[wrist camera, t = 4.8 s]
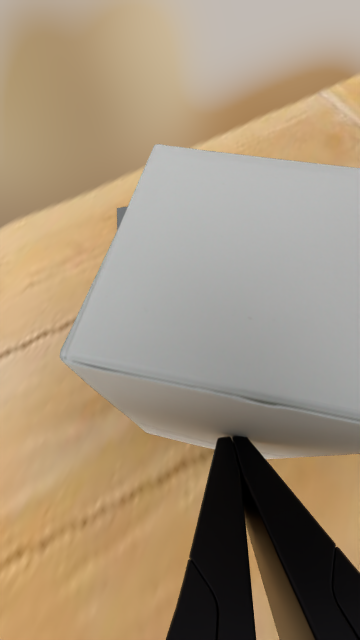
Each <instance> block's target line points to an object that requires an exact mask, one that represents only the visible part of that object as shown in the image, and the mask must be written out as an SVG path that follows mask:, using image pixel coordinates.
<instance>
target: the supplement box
mask: <svg viewBox="0 0 360 640" xmlns="http://www.w3.org/2000/svg"><path fill="white" fill-rule="evenodd" d="M60 359H61V360H62V361H63V362H64V363H65V364H66V365H67V366H68V367H69V368H71V369H72V370H73V371H74V372H75V373H76V374H77V375H78V376H79V377H81V378H82V379H83V380H84V381H85V382H86V383H87V384H88V385H90V386H91V387H92V388H93V389H94V390H96V391H97V392H98V393H99V394H100V395H101V396H103V397H104V398H105V399H106V400H108V401H109V402H110V403H111V404H112V405H114V406H115V407H116V408H117V409H119V410H120V411H121V412H122V413H124V414H125V415H126V416H127V417H129V418H130V419H131V420H132V421H133V422H135V423H136V424H137V425H138V426H139V427H140V428H141V429H143V430H144V431H145V432H146V433H149V434H153V435H157V436H161V437H165V438H169V439H173V440H177V441H181V442H185V443H189V444H193V445H197V446H201V447H206V448H210V449H215V446H216V442H217V439H218V438H219V437H226V436H230V437H231V439H232V437H233V436H243V437H248V439H249V440H250V441H251V442H252V444H253V445H254V446H255V447H256V448H257V450H258V451H259V452H260V453H261V454H262V456H263V457H264V458H265V459H279V458H295V457H313V456H329V455H347V454H360V168H353V167H344V166H335V165H326V164H317V163H308V162H299V161H291V160H282V159H273V158H265V157H256V156H248V155H239V154H231V153H222V152H214V151H205V150H197V149H190V148H183V147H174V146H167V145H161V144H157V145H154V147H153V150H152V152H151V154H150V157H149V159H148V161H147V164H146V166H145V168H144V170H143V173H142V175H141V177H140V180H139V182H138V184H137V187H136V189H135V191H134V194H133V196H132V198H131V201H130V203H129V205H128V208H127V210H126V212H125V215H124V217H123V219H122V222H121V224H120V226H119V228H118V231H117V233H116V235H115V237H114V239H113V241H112V243H111V245H110V247H109V250H108V252H107V254H106V256H105V258H104V260H103V262H102V264H101V266H100V269H99V271H98V273H97V275H96V277H95V279H94V281H93V283H92V285H91V287H90V289H89V292H88V294H87V296H86V298H85V300H84V302H83V305H82V307H81V309H80V311H79V313H78V315H77V318H76V320H75V322H74V324H73V326H72V328H71V330H70V332H69V334H68V336H67V338H66V341H65V343H64V345H63V347H62V349H61V352H60Z"/></svg>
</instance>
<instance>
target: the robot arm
mask: <svg viewBox="0 0 360 640" xmlns="http://www.w3.org/2000/svg"><path fill="white" fill-rule="evenodd" d="M245 522H246V523H245ZM246 526H247V530H248V533H249V536H250V540H251V543H252V547H253V550H254V553H255V557H256V560H257V564H258V567H259V571H260V574H261V577H262V581H263V584H264V588H265V591H266V595H267V598H268V601H269V605H270V608H271V612H272V615H273V619H274V622H275V625H276V629H277V632H278V636H279V639H280V640H360V572H359V571H358V570H357V569H356V568H355V567H354V565H353V564H352V563H351V562H350V561H349V559H348V558H347V557H346V556H345V555H344V553H343V552H342V551H341V550H340V549H339V548H338V547H336V545H335V543H334V541H333V540H332V539H331V538H330V537H329V535H328V534H327V533H326V532H325V531H324V529H323V528H322V527H321V526H320V525H319V523H318V522H317V521H316V520H315V519H314V517H313V516H312V515H311V514H310V512H309V511H308V510H307V509H306V508H305V506H304V505H303V504H302V503H301V502H300V500H299V499H298V498H297V497H296V496H295V494H294V493H293V492H292V491H291V489H290V488H289V487H288V486H287V485H286V483H285V482H284V481H283V480H282V479H281V477H280V476H279V475H278V474H277V473H276V471H275V470H274V469H273V468H272V467H271V465H270V464H269V463H268V462H267V460H266V459H265V458H264V457H263V456H262V454H261V453H260V452H259V451H258V450H257V448H256V447H255V446H254V445H253V444H252V442H251V441H250V440H249V439H248V437H243V436H233V437H232V439H231V437H230V436H226V437H219V438H218V439H217V442H216V446H215V451H214V455H213V459H212V463H211V467H210V472H209V476H208V480H207V484H206V488H205V492H204V497H203V501H202V505H201V509H200V513H199V518H198V522H197V526H196V530H195V534H194V539H193V543H192V547H191V551H190V555H189V558H190V559H189V560H188V563H187V567H186V571H185V575H184V579H183V583H182V587H181V591H180V594H179V598H178V602H177V606H176V609H175V612H174V615H173V618H172V621H171V625H170V628H169V631H168V634H167V637H166V640H256V632H255V622H254V611H253V600H252V589H251V578H250V567H249V556H248V545H247V534H246ZM335 547H336V548H335Z"/></svg>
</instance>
